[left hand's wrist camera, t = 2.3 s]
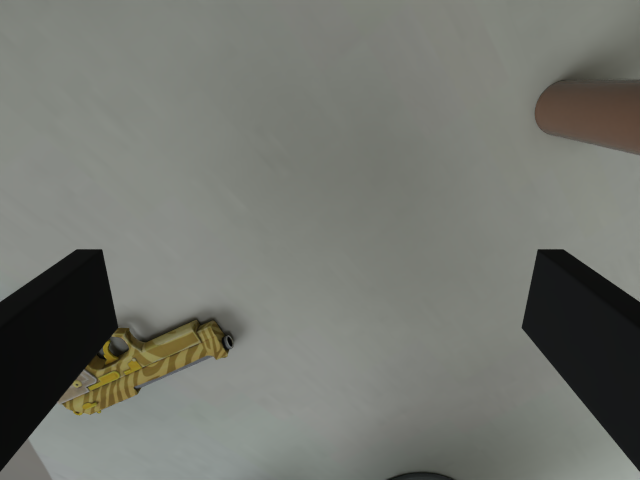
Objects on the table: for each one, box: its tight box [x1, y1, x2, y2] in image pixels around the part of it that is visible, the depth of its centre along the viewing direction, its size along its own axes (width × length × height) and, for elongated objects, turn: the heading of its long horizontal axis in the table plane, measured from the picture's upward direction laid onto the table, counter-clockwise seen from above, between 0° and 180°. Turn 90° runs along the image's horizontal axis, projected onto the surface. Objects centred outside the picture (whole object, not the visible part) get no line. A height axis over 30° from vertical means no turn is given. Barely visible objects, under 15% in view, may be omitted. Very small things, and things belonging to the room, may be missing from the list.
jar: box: [535, 79, 640, 155], centre depth 30 cm, size 5×5×15 cm
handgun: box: [57, 320, 234, 415], centre depth 45 cm, size 2×23×15 cm
